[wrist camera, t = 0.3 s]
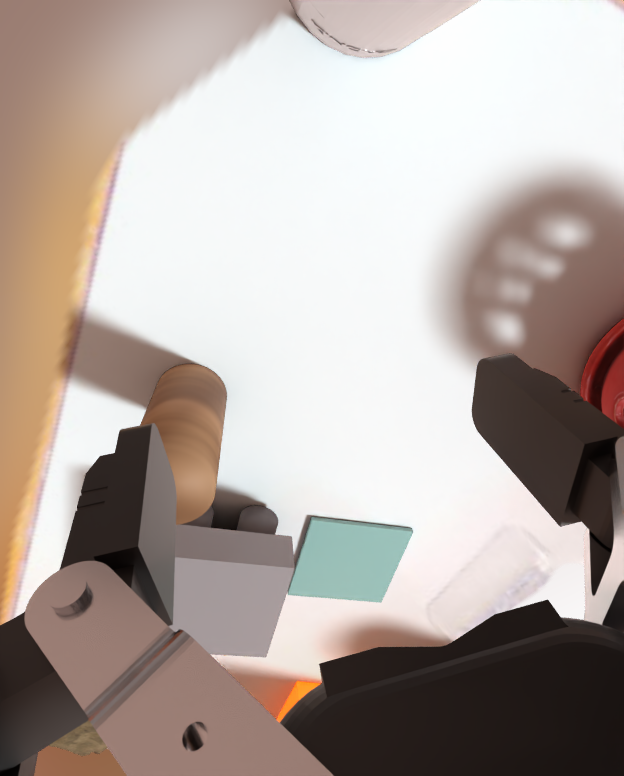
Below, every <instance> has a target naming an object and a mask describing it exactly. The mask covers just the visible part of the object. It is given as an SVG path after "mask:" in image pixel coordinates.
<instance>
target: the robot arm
mask: <svg viewBox="0 0 624 776" xmlns="http://www.w3.org/2000/svg"><path fill="white" fill-rule="evenodd" d="M289 1H290V3H291V4H292V6H293V8H294V10H295V12H296V14H297V16H298V17H299V18H300V20H301V21H302V22H303V23H304V25H305V26H306V27H307V28H308V29H309V31H310V32H311V33H312V34H313V35H314V36H316V37H317V38H318V39H319V40H321V41H322V42H323V43H324V44H326V45H327V46H328V47H330V48H333V49H335V50H337V51H339V52H341V53H343V54H345V55H351V56H356V57H361V58H369V57H382V56H385V55H388V54H391V53H394V52H397V51H400V50H401V49H403V48H405V47H406V46H408V45H410V44H411V43H413V42H414V41H416V40H418V39H419V38H421V37H423V36H424V35H426V34H428V33H429V32H431V31H433V30H435V29H436V28H438V27H439V26H441V25H443V24H444V23H446V22H447V21H449V20H450V19H452V18H454V17H455V16H457V15H458V14H460V13H461V12H463V11H465V10H466V9H468V8H469V7H471V6H472V5H474V4H476V3H477V2H479V1H480V0H289ZM472 417H473V421H474V424H475V427H476V429H477V431H478V432H479V433H480V435H481V436H482V437H483V438H484V439H485V440H486V442H487V443H488V444H489V445H490V446H491V447H492V449H493V450H494V451H495V452H496V453H497V454H498V455H499V457H500V458H501V459H502V460H503V461H504V462H505V464H506V465H507V466H508V467H509V468H510V469H511V470H512V472H513V473H514V474H515V475H516V476H517V477H518V479H519V480H520V481H521V482H522V483H523V484H524V486H525V487H526V488H527V489H528V490H529V491H530V492H531V494H532V495H533V496H534V497H535V498H536V499H537V501H538V502H539V503H540V504H541V505H542V506H543V507H544V509H545V510H546V511H547V512H548V513H549V514H550V516H551V517H552V518H553V519H554V520H555V521H556V522H557V524H558V525H559V526H560V527H561V526H565V525H569V524H573V523H577V522H581V521H582V522H583V523H584V524H585V526H586V527H587V529H586V532H585V535H584V570H585V615H584V620H580V619H571V618H561V617H560V616H559V614H558V613H557V612H556V610H555V609H554V608H553V606H552V605H551V603H550V602H549V600H545V601H541V602H538V603H534V604H531V605H527V606H524V607H520V608H516V609H513V610H509V611H506V612H502V613H498V614H495V615H493V616H492V617H490V618H489V619H487V620H486V621H484V622H483V623H481V624H479V625H478V626H476V627H475V628H473V629H472V630H470V631H469V632H467V633H466V634H464V635H463V636H461V637H460V638H458V639H456V640H455V641H453V642H452V643H450V644H448V645H446V646H441V647H377V648H374V649H370V650H367V651H363V652H360V653H356V654H352V655H349V656H345V657H342V658H338V659H335V660H331V661H327V662H324V663H320V664H319V665H320V672H321V678H322V683H321V684H320V685H318V686H317V687H315V688H314V689H312V690H310V691H309V692H308V693H307V694H306V695H304V696H303V697H302V698H301V699H300V700H298V701H297V702H296V704H295V705H294V706H293V707H292V708H291V709H290V710H289V711H288V712H287V713H286V714H285V716H284V717H283V719H282V720H281V721H280V723H279V722H278V721H277V720H276V719H275V718H274V717H273V716H272V715H271V714H270V713H269V712H268V711H267V710H266V709H265V708H264V707H263V706H262V705H261V704H260V703H259V702H258V701H257V700H256V699H255V698H254V697H253V696H252V695H251V694H250V693H249V692H248V691H247V690H246V689H245V688H244V687H243V686H242V685H241V684H240V683H239V682H238V681H237V680H236V679H234V678H233V677H232V676H231V675H230V674H229V673H228V672H227V671H226V670H225V669H224V668H223V667H222V666H221V665H220V664H219V663H218V662H217V661H216V660H215V659H214V658H213V657H212V656H211V655H210V654H209V653H208V652H207V651H206V650H205V649H204V648H203V647H202V646H201V645H200V644H199V643H198V642H197V641H196V640H195V639H194V638H192V637H191V636H190V635H189V634H188V633H186V632H185V631H183V630H181V629H179V630H178V631H177V632H175V631H173V630H172V629H171V628H170V627H169V626H170V625H173V606H174V572H175V539H176V505H177V494H176V486H175V480H174V476H173V472H172V469H171V466H170V463H169V460H168V457H167V454H166V451H165V448H164V445H163V442H162V439H161V436H160V434H159V431H158V428H157V426H156V424H155V423H151V424H146V425H141V426H136V427H131V428H126V429H121V430H120V432H119V436H118V440H117V445H116V450H115V453H113V454H108V455H103V456H100V457H99V458H98V459H97V461H96V462H95V463H94V464H93V466H92V467H91V468H90V469H89V471H88V472H87V473H86V476H85V479H84V483H83V487H82V490H81V494H82V495H81V496H80V498H79V501H78V505H77V511H76V512H75V516H74V520H73V523H72V527H71V531H70V534H69V538H68V542H67V545H66V549H65V553H64V556H63V560H62V564H61V567H60V570H59V571H58V572H56V573H54V574H53V575H52V576H50V577H49V578H48V579H47V580H45V581H44V582H43V583H42V584H41V585H40V586H39V588H38V589H37V590H36V591H35V592H34V594H33V595H32V597H31V599H30V600H29V603H28V605H27V607H26V611H25V612H24V613H22V614H21V615H19V616H17V617H16V618H14V619H12V620H10V621H8V622H6V623H4V624H2V625H0V776H34V772H35V766H36V761H37V755H38V752H39V751H40V750H42V749H44V748H45V747H46V746H48V745H50V744H52V743H53V742H55V741H56V740H58V739H60V738H61V737H63V736H64V735H66V734H68V733H69V732H71V731H72V730H74V729H76V728H77V727H79V726H80V725H82V724H84V723H85V722H87V721H88V720H89V721H90V722H91V724H92V726H93V727H94V728H95V730H96V731H97V733H98V734H99V736H100V737H101V739H102V740H103V742H104V743H105V744H106V746H107V747H108V749H109V750H110V751H111V753H112V755H113V756H114V757H115V759H116V760H117V762H118V763H119V765H120V766H121V767H122V769H123V770H124V772H125V773H126V774H127V776H624V429H623V428H622V427H620V426H619V425H618V424H617V423H615V422H614V421H613V420H611V419H610V418H609V417H607V416H606V415H605V414H603V413H602V412H601V411H599V410H598V409H597V408H596V407H594V406H593V405H592V404H590V403H589V402H588V401H584V400H583V398H582V397H581V396H580V395H578V394H577V393H576V392H575V391H571V388H569V387H568V386H567V385H565V384H564V383H563V382H561V381H560V380H559V379H557V378H556V377H554V376H552V375H550V374H547V373H545V372H542V371H540V370H537V369H535V368H534V369H532V368H531V367H530V366H528V365H527V364H526V363H524V362H523V361H522V360H521V359H519V358H518V357H517V356H515V355H514V354H504V355H499V356H494V357H489V358H484V359H481V360H480V361H479V363H478V365H477V371H476V379H475V387H474V396H473V404H472Z"/></svg>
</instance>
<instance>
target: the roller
mask: <svg viewBox="0 0 624 776" xmlns="http://www.w3.org/2000/svg"><path fill="white" fill-rule="evenodd" d="M226 400H227V392H226V388H225V385H224V383H223V381H222V380H221V378H220V377H219V376H218V375H217V374H216V373H215V372H213V371H212V370H210V369H208V368H206V367H204V366H201V365H197V364H182V365H178V366H175V367H173V368H171V369H169V370H168V371H166V372H165V373H164V374H163V375H162V376H161V378H160V379H159V381H158V383H157V386H156V388H155V391H154V393H153V395H152V398H151V400H150V403H149V405H148V407H147V410H146V412H145V415H144V417H143V419H142V422H141V424H140V426H141V425H146V424H151V423H155V424H156V426H157V428H158V431H159V434H160V436H161V439H162V442H163V445H164V448H165V451H166V454H167V457H168V460H169V463H170V466H171V469H172V472H173V476H174V480H175V486H176V494H177V505H176V525H179V524H184V523H187V522H190V521H193V520H195V519H197V518H198V517H200V516H202V515H203V514H204V513H205V512H206V511H207V510H208V509H209V508H210V506H211V505H212V503H213V501H214V497H215V492H216V484H217V475H218V467H219V459H220V450H221V442H222V434H223V425H224V417H225V409H226Z"/></svg>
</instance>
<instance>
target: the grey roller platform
mask: <svg viewBox="0 0 624 776" xmlns="http://www.w3.org/2000/svg"><path fill="white" fill-rule="evenodd" d="M213 515H214V510H213V508H212V506H210V508H209V509H208V510H207V511H206V512H205V513H204V514H203V515H202V516H200V517H198V518H197V519H195V520H193V521H190V522H187V523H184V524H179V525H176V539H175V572H174V606H173V625H170V626H169V627H170V628H171V629H172V630H173V631H175V632H177V631H178V630H179V629H181V630H183V631H185V632H186V633H188V634H189V635H190V636H191V637H192V638H194V639H195V640H196V641H197V642H198V643H199V644H200V645H201V646H202V647H203V648H204V649H205V650H206V651H207V652H208V653H209V654H215V655H233V656H252V657H266V656H267V653H268V650H269V647H270V643H271V640H272V637H273V634H274V631H275V628H276V625H277V622H278V619H279V615H280V612H281V609H282V606H283V603H284V600H285V597H286V594H287V591H288V587H289V584H290V581H291V578H292V575H293V572H294V569H295V567H294V555H293V544H292V537H291V536H282V535H275V532H276V529H277V525H278V518H277V516H276V514H275V513H274V512H273V511H272V510H270V509H268V508H266V507H263V506H258V505H254V506H249V507H247V508H245V509H244V510H243V511H242V512H241V514H240V518H239V522H238V526H237V531H235V530H226V529H217V528H211V525H212V520H213Z"/></svg>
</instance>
